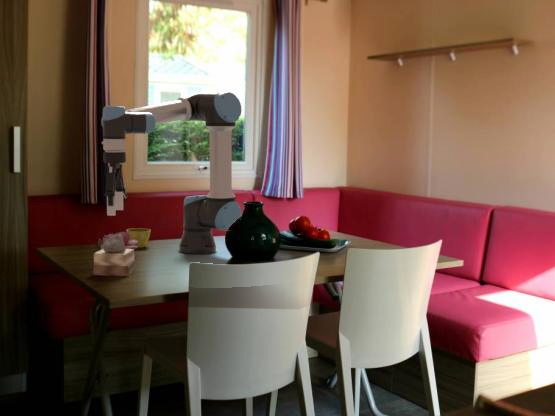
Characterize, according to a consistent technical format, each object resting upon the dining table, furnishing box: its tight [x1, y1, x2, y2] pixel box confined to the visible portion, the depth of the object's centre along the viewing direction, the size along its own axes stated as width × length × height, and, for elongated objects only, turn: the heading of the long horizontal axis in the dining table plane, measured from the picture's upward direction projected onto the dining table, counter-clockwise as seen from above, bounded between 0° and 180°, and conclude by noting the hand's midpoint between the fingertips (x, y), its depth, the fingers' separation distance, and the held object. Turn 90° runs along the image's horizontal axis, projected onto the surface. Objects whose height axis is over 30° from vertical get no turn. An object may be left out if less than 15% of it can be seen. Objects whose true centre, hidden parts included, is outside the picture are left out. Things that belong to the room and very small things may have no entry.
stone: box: [102, 234, 126, 252], centre depth 254 cm, size 8×10×6 cm
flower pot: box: [125, 227, 152, 249], centre depth 306 cm, size 10×10×7 cm
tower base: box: [92, 259, 136, 277], centre depth 254 cm, size 12×12×4 cm
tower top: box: [93, 248, 135, 266], centre depth 254 cm, size 11×11×4 cm
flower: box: [97, 231, 138, 251], centre depth 283 cm, size 15×15×10 cm
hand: (115, 212), depth 252 cm, fingers open, 13 cm apart
